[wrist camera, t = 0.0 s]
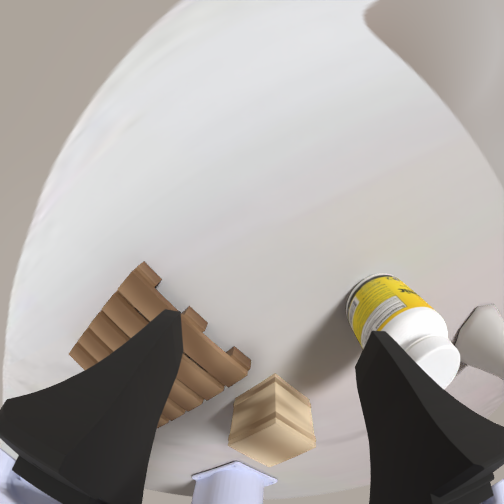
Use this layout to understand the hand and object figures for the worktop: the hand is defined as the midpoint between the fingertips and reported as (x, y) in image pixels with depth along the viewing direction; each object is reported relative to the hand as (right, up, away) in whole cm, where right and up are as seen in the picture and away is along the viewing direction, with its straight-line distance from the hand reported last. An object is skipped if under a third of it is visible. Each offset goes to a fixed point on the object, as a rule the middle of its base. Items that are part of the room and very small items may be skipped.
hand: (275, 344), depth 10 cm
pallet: (-10, -6, +13) cm, 18 cm away
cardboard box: (+1, -11, +14) cm, 18 cm away
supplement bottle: (+9, -1, +11) cm, 14 cm away
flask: (+23, -5, +11) cm, 26 cm away
